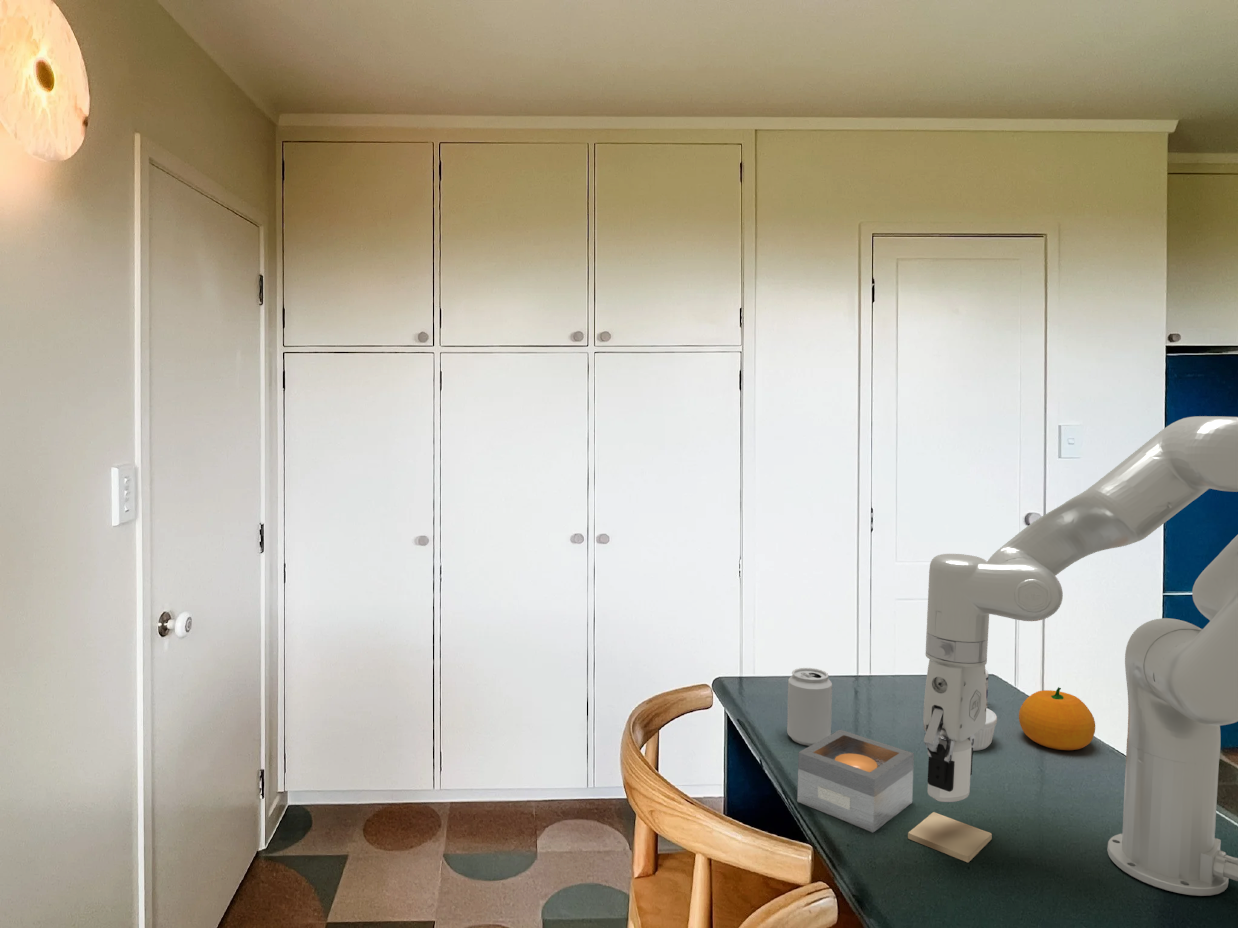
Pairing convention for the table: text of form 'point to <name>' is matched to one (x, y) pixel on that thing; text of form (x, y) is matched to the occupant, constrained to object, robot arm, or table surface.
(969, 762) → the eye dropper bottle
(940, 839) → the coaster
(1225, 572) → the robot arm
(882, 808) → the grey box
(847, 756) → the button
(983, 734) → the ramekin
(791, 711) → the can
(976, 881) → the table surface
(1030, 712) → the fruit
